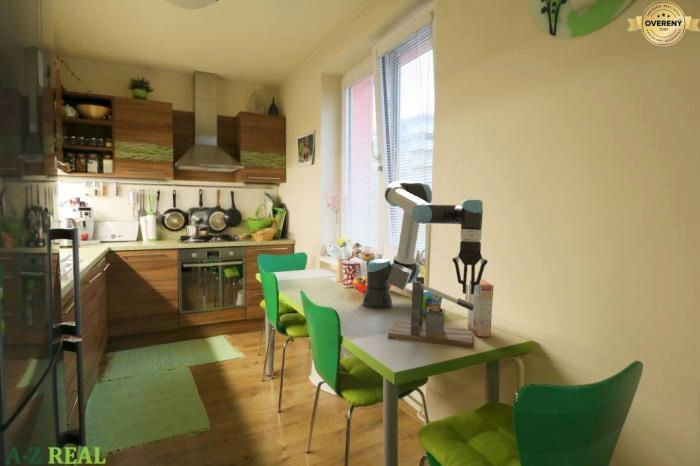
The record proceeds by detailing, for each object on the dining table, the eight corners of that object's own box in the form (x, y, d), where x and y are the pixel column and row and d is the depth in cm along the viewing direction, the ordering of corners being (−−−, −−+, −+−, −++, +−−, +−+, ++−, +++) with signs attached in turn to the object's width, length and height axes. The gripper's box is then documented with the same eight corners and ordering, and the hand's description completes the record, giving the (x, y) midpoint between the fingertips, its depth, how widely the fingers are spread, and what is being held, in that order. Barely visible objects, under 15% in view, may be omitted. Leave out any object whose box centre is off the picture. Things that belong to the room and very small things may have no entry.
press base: (395, 326, 165) (396, 274, 163) (471, 334, 156) (473, 280, 155) (387, 337, 149) (389, 281, 148) (472, 347, 141) (475, 287, 139)
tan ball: (430, 311, 154) (431, 301, 154) (440, 312, 153) (441, 302, 153) (429, 313, 150) (430, 303, 150) (440, 314, 149) (440, 304, 149)
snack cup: (431, 310, 193) (431, 289, 193) (449, 314, 186) (450, 293, 185) (411, 315, 183) (412, 293, 182) (430, 320, 175) (431, 298, 174)
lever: (390, 278, 161) (396, 263, 160) (468, 313, 153) (475, 297, 152) (386, 282, 152) (392, 266, 151) (469, 319, 144) (476, 302, 143)
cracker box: (491, 337, 153) (494, 285, 152) (476, 337, 153) (478, 284, 152) (481, 327, 167) (483, 278, 166) (467, 326, 167) (469, 278, 166)
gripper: (452, 240, 145) (449, 302, 146) (490, 242, 141) (486, 306, 142) (452, 239, 152) (449, 298, 153) (488, 240, 148) (485, 301, 150)
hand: (467, 302), depth 148 cm, fingers closed
